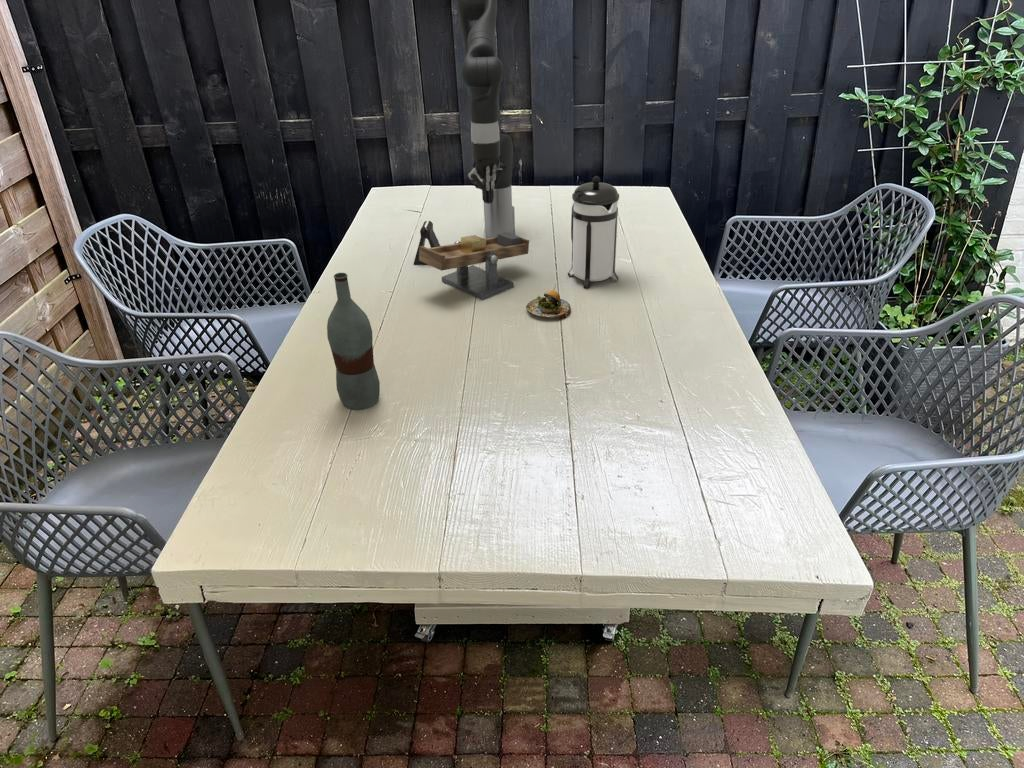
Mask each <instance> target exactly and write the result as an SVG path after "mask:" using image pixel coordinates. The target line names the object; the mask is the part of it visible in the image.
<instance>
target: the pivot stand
mask: <svg viewBox="0 0 1024 768" xmlns="http://www.w3.org/2000/svg"><path fill="white" fill-rule="evenodd" d="M457 243H461V240H456V241H454V243H453V244H457ZM498 262H499V261H498V257H497V254H496V253H490V254H487V255H485V262H484V266H485V267H484V268H485V269H484V268H480V267H478V266H476V265H475V264H473V265H468V266H463V267H458V268H456V271H454V272H451V273H448V274H446V275H443V276H441V283H444V284H446V285H448V286H451V287H452V288H454V289H457V290H459V291H461V292H463V293H465V294H467V295H470V296H472V297H474V298H475V299H478V300H480V301H485V300H486V299H489V298H491V297H494V296H496V295H499V294H501V293H503V292H506V291H508V290H510V289H513V288H515V285H514V281H511V280H510V279H507V278H504V277H502V276H499V275H498Z"/></svg>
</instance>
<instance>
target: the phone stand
mask: <svg viewBox="0 0 1024 768" xmlns="http://www.w3.org/2000/svg"><path fill="white" fill-rule="evenodd" d="M427 221H428V220H425V221H424V222H423V224H422V226H421V228H420V230H419V233H420V239H419V242H418V245H417V250H416V254H415V256H414V261H413V265H414V266H429V265H428V264H426V263H423V262H421V261H419V246H424V247H425V246H426V245H425V243H426V239H427V241H428V244H429V246H430V247H429V248H433V247H439V246H441V243H440V242H439V240H438V238H437V235H436V233H435V230H434V223H433V222H432V221H431V220H429V221H428V222H427ZM425 226H426V227H425Z"/></svg>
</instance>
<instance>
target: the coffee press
mask: <svg viewBox="0 0 1024 768" xmlns="http://www.w3.org/2000/svg"><path fill="white" fill-rule="evenodd" d="M571 195H572V196H571V198H572V201H573V203H572V206H571V218H570V219H571V220H570V221H571V223H570V224H571V225H570V226H571V227H570V234H571V235H570V236H571V237H570V238H571V245H572V246H571V253H572V254H571V268H570V270H569V272H567V276H568V277H569V278H572V277H574V276H575V277H576V278H578V279H579V280H582V281H584V284H583V288H584V289H588V290H589V289H590V286H591V283H592V282H599V281H600V282H601V281H605V280H608V279H609V280H611V281H612V282H613V283H617V282H618V281H619V276H618V275H617V273H616V257H617V256H616V255H617V236H618V234H617V233H618V215H619V208H618V203H619V202H618V201H619V200H620V193H619V192H618V190H617V189H616V187H615V186H614V185H612V184H609V183H606V182H601V178H600V176H598V175H595V176H593V177H592V178H591V182H585V183H582V184H580V185H578V186H577V187H576V188H575V189H574V192H573V193H572V194H571ZM571 271H572V273H573V274H571V273H570V272H571ZM613 275H614V277H612V276H613ZM614 278H615V279H614Z"/></svg>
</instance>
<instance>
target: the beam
mask: <svg viewBox="0 0 1024 768" xmlns="http://www.w3.org/2000/svg"><path fill="white" fill-rule="evenodd" d="M504 233H507V232H504ZM485 239H486V250H485V251H479V252H474V253H469V254H466V253H463V252H461V251H460V248H461V243H457V244H454V243H452V244H446V245H440V246H439V247H433V248H431V247H426V246H425V245H424V246H419V245H418V246H419V261H421V262H423V263H426V264H428V265H427V266H430V267H433V268H435V269H436V270H440V271H441V272H443V271H449V270H453V269H457V268H458V267H463V266H468V267H469V266H472V265H479V264H483V263H484V264H485V255H487V254H490V253H496V254H497V257H498V260H503V259H508V258H514V257H519V256H523V255H524V256H525V255H527V254H529V246H530V245H529V244H530V240H529V239H526V238H524V237H522V240H521V244H518V245H512V246H507V247H503V246H501V245H498V244H497V237H492V238H486V237H485Z"/></svg>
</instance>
